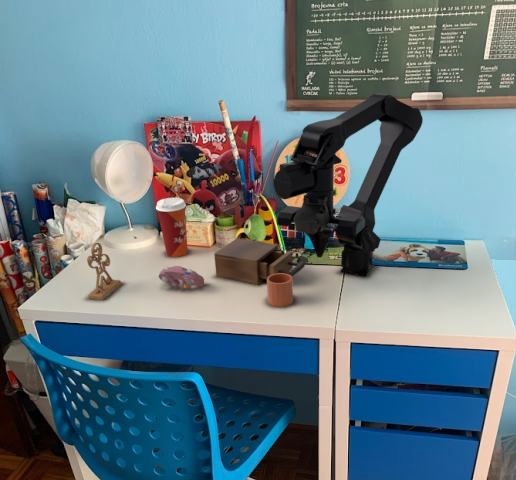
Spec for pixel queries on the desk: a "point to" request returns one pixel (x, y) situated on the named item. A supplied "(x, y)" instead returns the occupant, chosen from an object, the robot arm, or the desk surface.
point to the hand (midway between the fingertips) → (319, 256)
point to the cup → (280, 289)
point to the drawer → (278, 264)
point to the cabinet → (242, 260)
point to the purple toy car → (181, 277)
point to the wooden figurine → (108, 284)
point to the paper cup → (173, 225)
